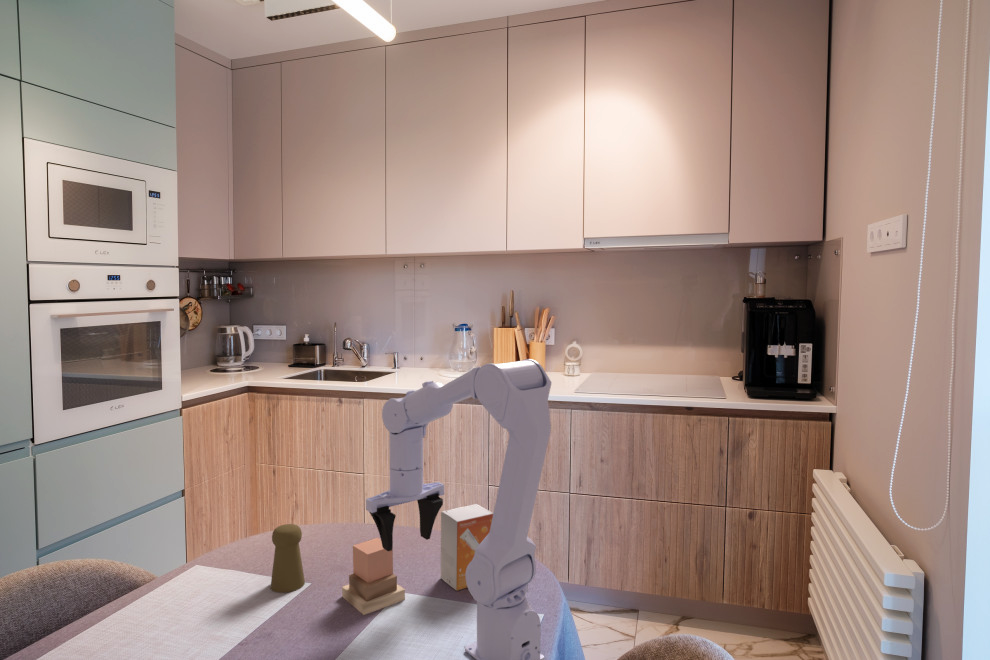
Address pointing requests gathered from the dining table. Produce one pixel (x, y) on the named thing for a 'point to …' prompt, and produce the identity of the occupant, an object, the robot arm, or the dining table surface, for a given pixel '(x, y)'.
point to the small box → (461, 541)
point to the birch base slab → (374, 603)
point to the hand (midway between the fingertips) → (406, 543)
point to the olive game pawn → (287, 559)
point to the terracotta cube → (372, 560)
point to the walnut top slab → (372, 586)
